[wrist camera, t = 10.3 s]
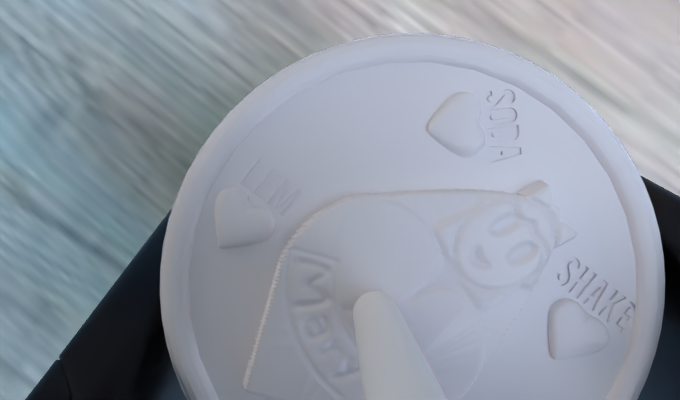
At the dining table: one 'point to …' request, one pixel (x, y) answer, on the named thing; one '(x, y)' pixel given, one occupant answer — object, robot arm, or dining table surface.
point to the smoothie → (412, 236)
